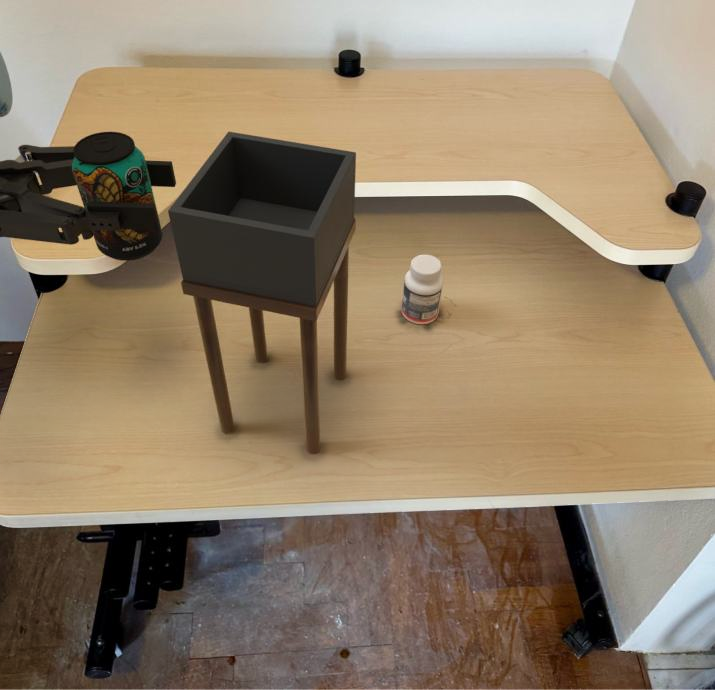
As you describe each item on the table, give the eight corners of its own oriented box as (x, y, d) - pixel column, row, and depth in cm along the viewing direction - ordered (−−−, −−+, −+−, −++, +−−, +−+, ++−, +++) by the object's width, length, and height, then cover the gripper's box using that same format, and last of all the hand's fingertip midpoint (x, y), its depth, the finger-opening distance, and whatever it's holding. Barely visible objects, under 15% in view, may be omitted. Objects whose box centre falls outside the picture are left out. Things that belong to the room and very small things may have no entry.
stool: (320, 459, 77) (316, 309, 59) (214, 434, 79) (180, 282, 61) (351, 370, 86) (355, 218, 69) (256, 349, 88) (236, 196, 71)
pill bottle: (406, 295, 96) (411, 247, 90) (441, 303, 95) (449, 255, 89) (397, 320, 93) (402, 272, 86) (434, 329, 92) (441, 280, 85)
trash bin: (316, 307, 60) (314, 237, 54) (182, 280, 62) (167, 210, 56) (354, 219, 69) (356, 152, 63) (236, 198, 70) (228, 131, 65)
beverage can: (103, 270, 71) (70, 171, 62) (94, 232, 75) (62, 135, 66) (169, 255, 73) (147, 157, 64) (157, 219, 77) (134, 123, 68)
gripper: (-6, 166, 79) (190, 173, 79) (-87, 277, 65) (149, 286, 65) (-31, 105, 73) (179, 113, 73) (-125, 214, 60) (132, 223, 60)
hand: (165, 194), depth 69 cm, fingers closed on beverage can, 7 cm apart
